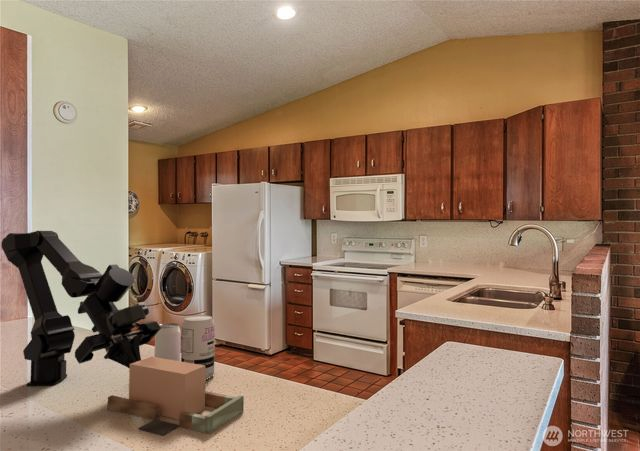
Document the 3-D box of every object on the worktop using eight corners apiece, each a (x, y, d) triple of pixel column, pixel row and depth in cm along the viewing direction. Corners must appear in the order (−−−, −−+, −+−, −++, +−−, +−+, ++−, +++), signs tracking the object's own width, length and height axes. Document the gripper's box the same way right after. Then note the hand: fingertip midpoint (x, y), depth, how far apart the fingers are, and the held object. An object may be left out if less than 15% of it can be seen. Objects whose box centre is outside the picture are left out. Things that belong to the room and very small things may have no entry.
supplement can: (185, 372, 110) (185, 315, 110) (216, 371, 110) (217, 314, 111) (177, 382, 101) (178, 321, 102) (211, 382, 102) (212, 321, 103)
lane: (90, 416, 82) (90, 401, 82) (161, 385, 100) (162, 372, 100) (194, 443, 72) (194, 426, 72) (254, 403, 89) (254, 389, 89)
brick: (128, 407, 87) (129, 364, 87) (151, 397, 92) (151, 356, 92) (184, 420, 81) (185, 374, 81) (204, 409, 86) (205, 365, 86)
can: (171, 375, 107) (172, 328, 107) (149, 373, 108) (149, 327, 109) (184, 367, 113) (185, 323, 114) (163, 365, 115) (164, 322, 115)
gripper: (85, 297, 84) (124, 359, 79) (155, 287, 101) (190, 337, 96) (58, 332, 87) (94, 394, 82) (131, 317, 104) (164, 367, 99)
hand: (140, 370), depth 90 cm, fingers closed, pressing on brick
